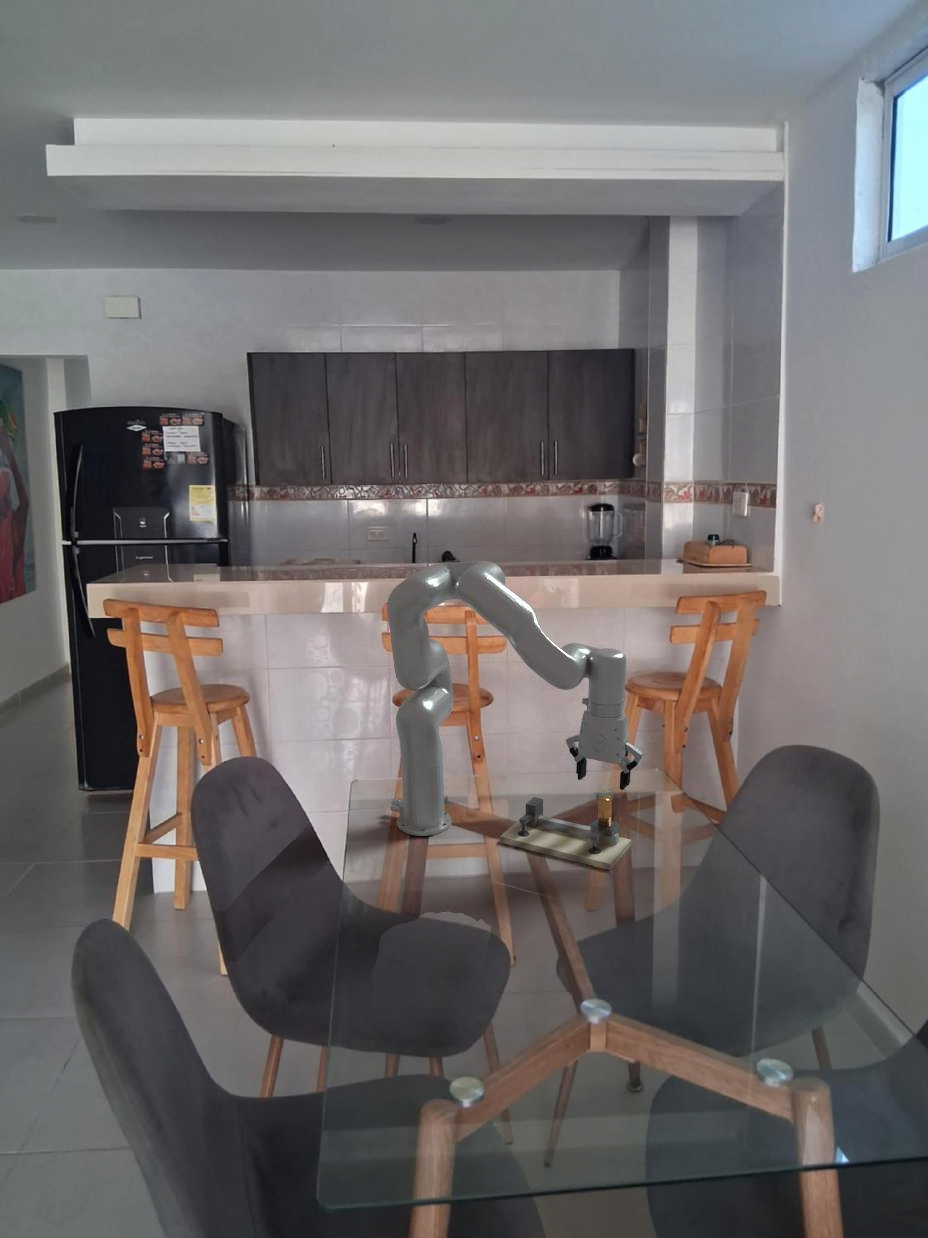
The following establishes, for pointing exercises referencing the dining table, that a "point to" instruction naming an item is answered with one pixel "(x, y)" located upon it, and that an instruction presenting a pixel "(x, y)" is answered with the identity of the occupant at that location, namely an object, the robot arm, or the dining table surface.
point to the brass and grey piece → (603, 821)
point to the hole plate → (563, 839)
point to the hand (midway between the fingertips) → (602, 782)
